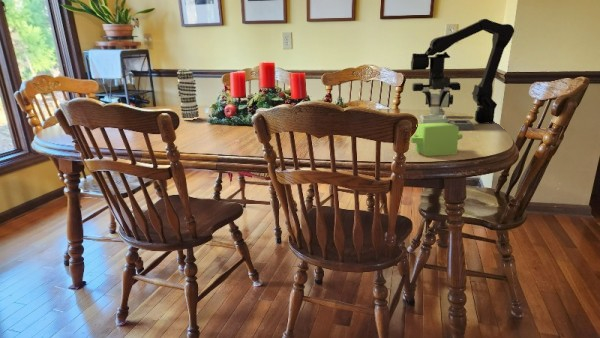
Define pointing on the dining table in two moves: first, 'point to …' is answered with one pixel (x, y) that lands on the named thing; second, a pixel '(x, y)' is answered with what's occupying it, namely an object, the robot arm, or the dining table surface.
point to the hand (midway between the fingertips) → (434, 107)
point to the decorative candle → (187, 93)
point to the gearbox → (436, 139)
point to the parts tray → (433, 119)
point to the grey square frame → (462, 124)
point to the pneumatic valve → (446, 101)
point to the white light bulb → (434, 106)
